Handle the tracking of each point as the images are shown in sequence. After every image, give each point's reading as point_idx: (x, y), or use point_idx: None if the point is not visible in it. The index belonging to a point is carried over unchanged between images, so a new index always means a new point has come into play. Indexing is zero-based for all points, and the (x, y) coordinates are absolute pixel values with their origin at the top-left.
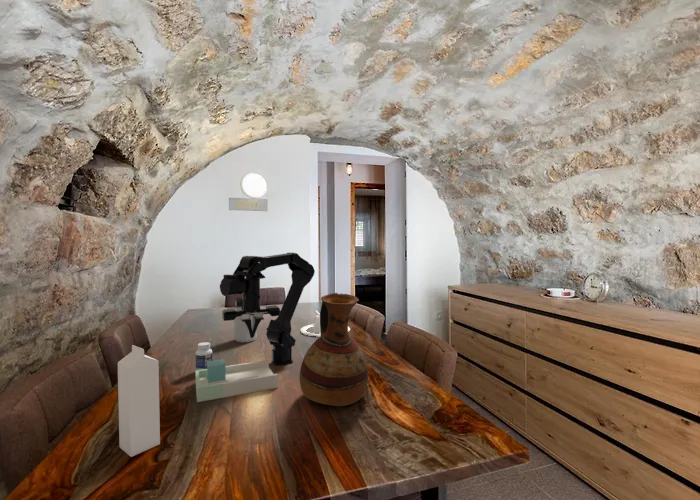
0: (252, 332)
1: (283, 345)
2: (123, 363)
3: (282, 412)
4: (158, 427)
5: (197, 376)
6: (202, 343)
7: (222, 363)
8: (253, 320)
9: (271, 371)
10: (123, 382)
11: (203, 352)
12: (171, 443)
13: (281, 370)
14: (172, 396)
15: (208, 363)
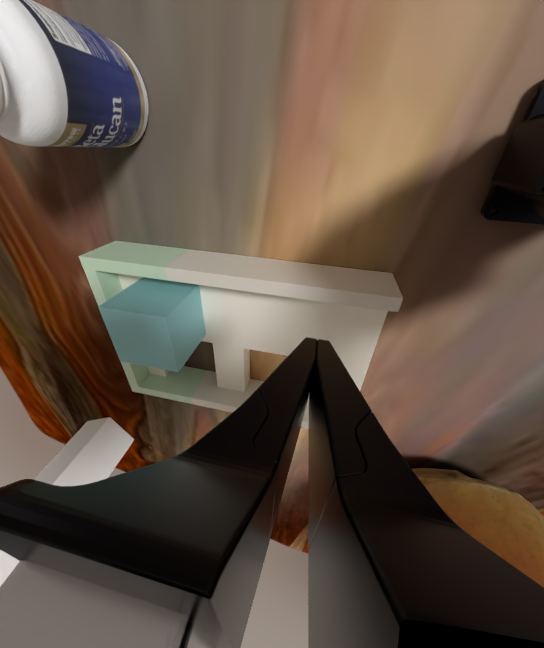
0: (310, 406)
1: None
2: None
3: (306, 471)
4: (117, 462)
5: None
6: None
7: (166, 361)
8: (327, 568)
9: (372, 352)
10: None
11: (10, 138)
12: (148, 444)
13: (450, 294)
14: (85, 305)
15: (111, 331)
